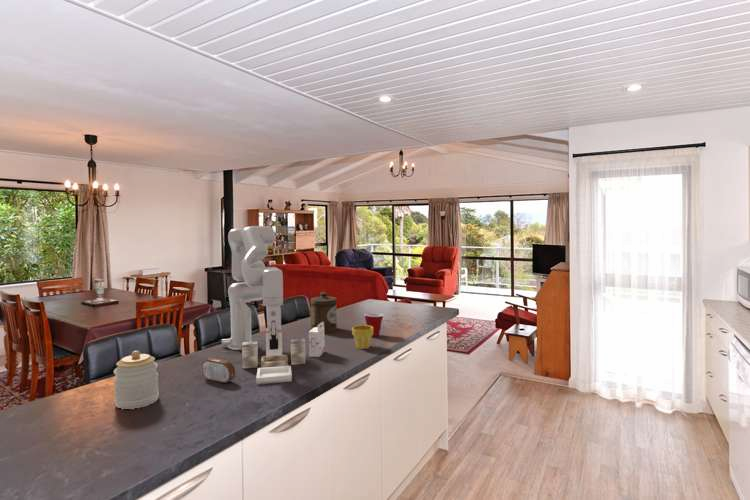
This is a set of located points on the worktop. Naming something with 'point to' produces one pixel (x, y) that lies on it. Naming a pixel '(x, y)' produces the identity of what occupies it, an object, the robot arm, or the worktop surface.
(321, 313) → the wooden container
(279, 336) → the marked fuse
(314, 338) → the ink cartridge box
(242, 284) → the robot arm
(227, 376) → the tin
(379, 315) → the plastic cup
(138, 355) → the jar
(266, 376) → the tray
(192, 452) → the worktop surface
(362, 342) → the plant pot
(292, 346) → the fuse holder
